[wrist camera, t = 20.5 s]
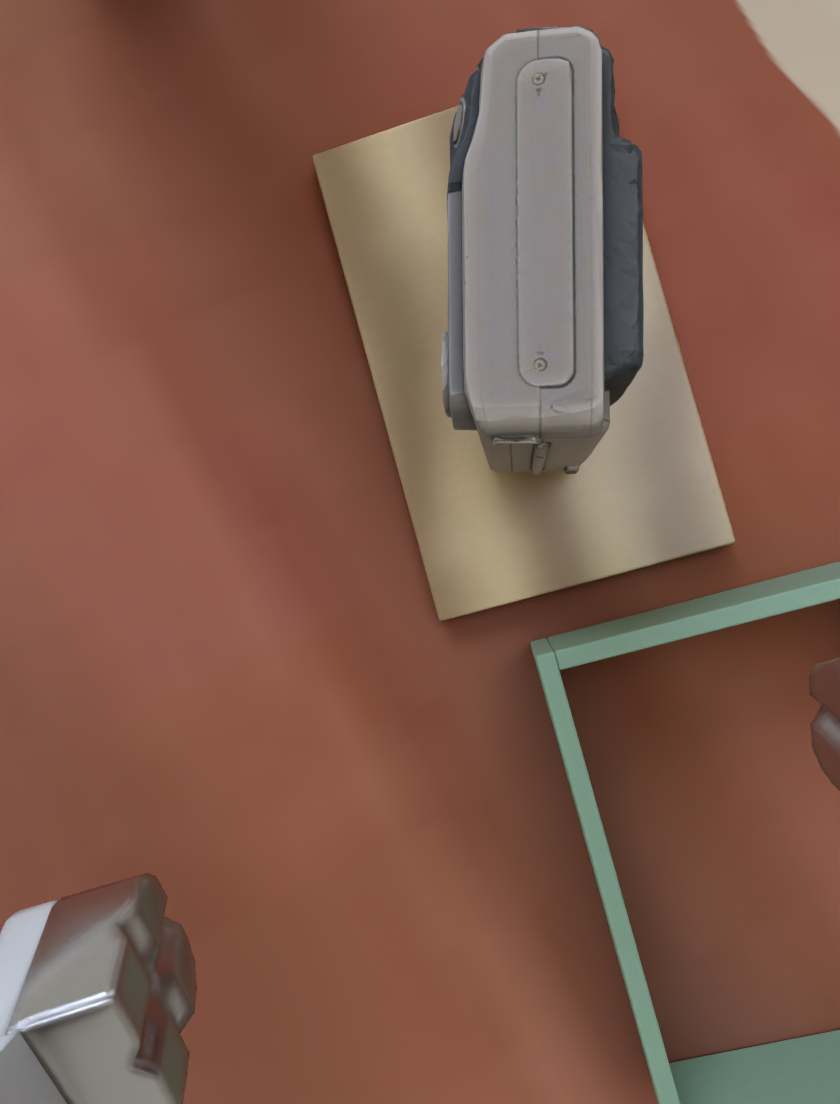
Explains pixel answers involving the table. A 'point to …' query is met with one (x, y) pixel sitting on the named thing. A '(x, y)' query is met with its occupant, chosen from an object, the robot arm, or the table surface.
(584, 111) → the camera
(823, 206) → the table surface
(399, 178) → the board
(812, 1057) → the bin
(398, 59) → the table surface
